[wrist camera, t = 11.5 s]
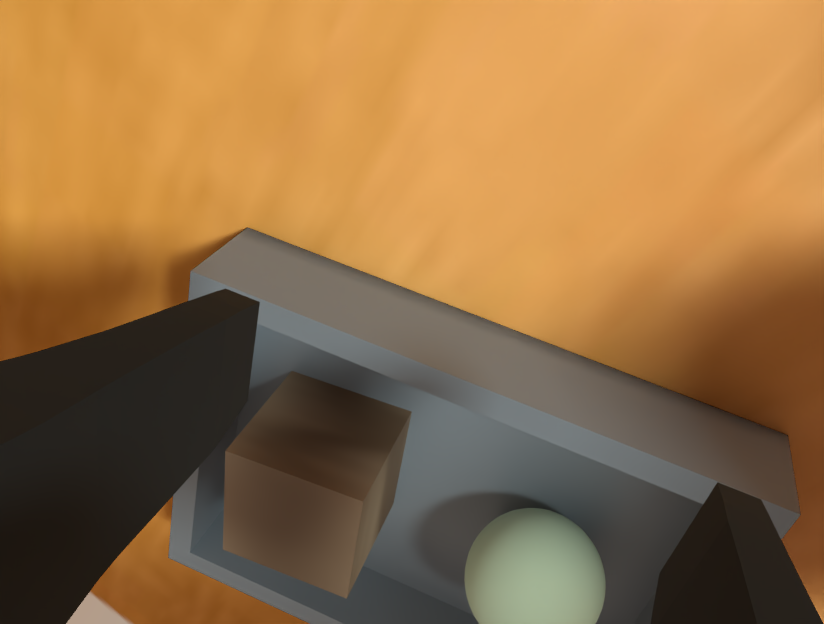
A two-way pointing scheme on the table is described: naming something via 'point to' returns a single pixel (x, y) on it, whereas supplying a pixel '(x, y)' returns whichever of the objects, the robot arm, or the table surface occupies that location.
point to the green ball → (534, 571)
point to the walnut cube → (313, 481)
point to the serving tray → (470, 442)
